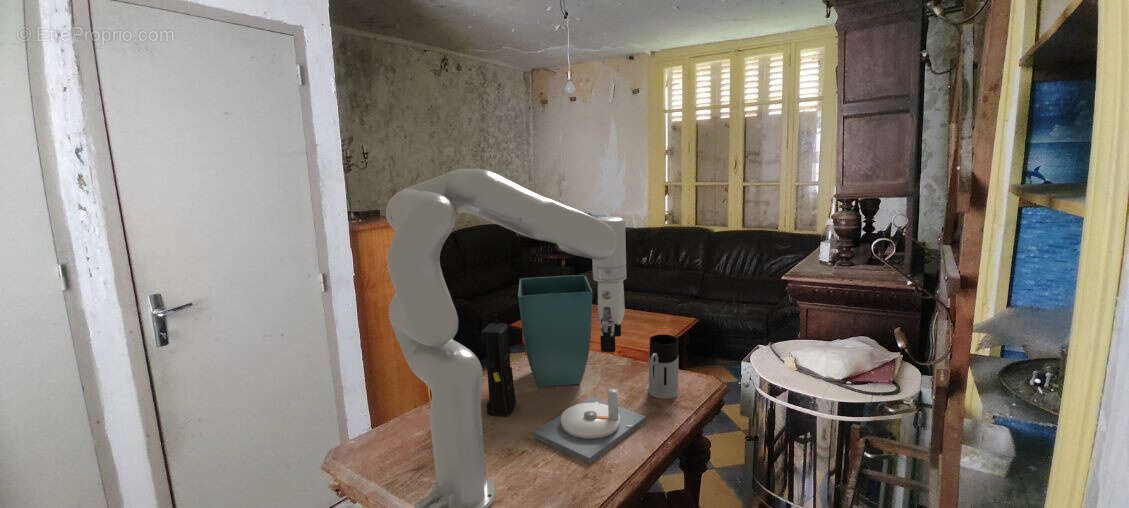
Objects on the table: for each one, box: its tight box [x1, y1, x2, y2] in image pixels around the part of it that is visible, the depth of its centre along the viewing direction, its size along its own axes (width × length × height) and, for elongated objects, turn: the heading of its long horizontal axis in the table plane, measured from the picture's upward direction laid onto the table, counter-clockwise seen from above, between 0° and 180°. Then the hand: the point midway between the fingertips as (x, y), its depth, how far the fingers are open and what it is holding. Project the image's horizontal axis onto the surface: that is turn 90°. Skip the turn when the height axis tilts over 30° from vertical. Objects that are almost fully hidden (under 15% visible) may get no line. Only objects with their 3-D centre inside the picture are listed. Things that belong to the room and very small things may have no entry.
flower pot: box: [517, 274, 593, 387], centre depth 152 cm, size 20×20×28 cm
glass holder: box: [647, 333, 681, 400], centre depth 139 cm, size 9×14×15 cm, turn 151°
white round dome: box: [561, 388, 620, 439], centre depth 124 cm, size 14×14×8 cm
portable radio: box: [480, 314, 517, 417], centre depth 133 cm, size 8×6×25 cm
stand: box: [532, 396, 647, 465], centre depth 125 cm, size 22×17×2 cm
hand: (611, 343), depth 121 cm, fingers open, 9 cm apart
